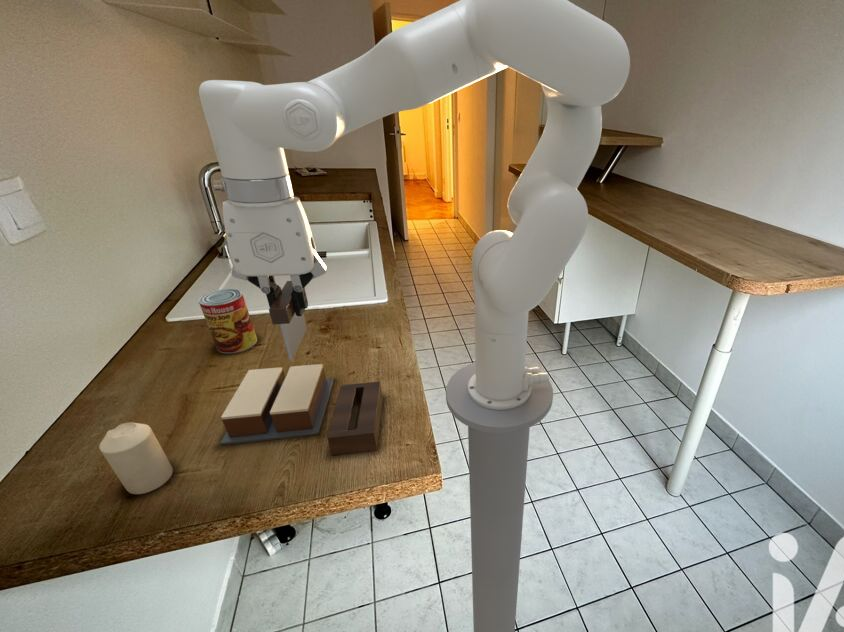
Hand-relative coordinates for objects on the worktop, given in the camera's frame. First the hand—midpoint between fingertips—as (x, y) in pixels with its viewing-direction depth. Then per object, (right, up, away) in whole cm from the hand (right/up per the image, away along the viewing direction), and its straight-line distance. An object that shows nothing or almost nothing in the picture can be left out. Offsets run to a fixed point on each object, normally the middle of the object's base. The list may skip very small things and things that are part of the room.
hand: (290, 311), depth 63 cm
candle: (-20, -25, -2) cm, 32 cm away
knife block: (+7, -20, +10) cm, 23 cm away
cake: (-8, -18, +12) cm, 23 cm away
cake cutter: (0, -5, +3) cm, 6 cm away
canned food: (-28, -7, +30) cm, 42 cm away
